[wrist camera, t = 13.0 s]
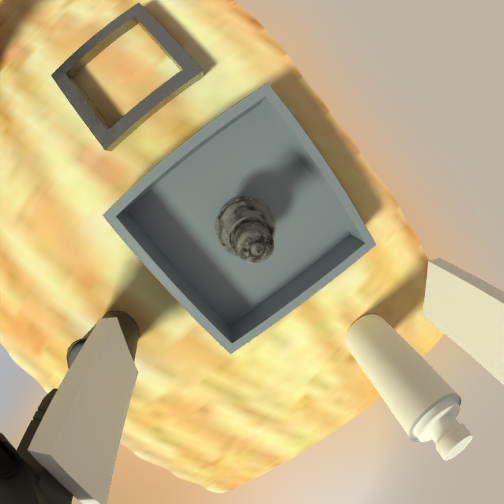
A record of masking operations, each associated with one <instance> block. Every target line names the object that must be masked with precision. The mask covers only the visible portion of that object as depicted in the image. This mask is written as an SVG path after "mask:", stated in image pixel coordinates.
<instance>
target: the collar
mask: <svg viewBox="0 0 504 504" xmlns="http://www.w3.org/2000/svg"><path fill="white" fill-rule="evenodd" d="M136 24H139V25H140V26H141V27H142V28H143V29H144V30H145V31H146V32H147V33H148V35H149V36H150V37H151V38H152V39H153V40H154V41H155V42H156V43H157V44H158V45H159V46H160V48H161V49H162V50H163V51H164V52H165V53H166V54H167V55H168V56H169V58H170V59H171V60H172V61H173V62H174V63H175V64H176V66H177V67H178V68H179V69H180V70H181V71H180V72H179V73H177V74H176V75H175V76H173V77H172V78H170V79H169V80H168V81H166V82H165V83H164V84H162V85H161V86H160V87H159V88H157V89H156V90H155V91H153V92H152V93H151V94H150V95H148V96H147V97H146V98H145V99H143V100H142V101H141V102H140V103H139V104H137V105H136V106H135V107H134V108H133V109H131V110H130V111H129V112H128V113H127V114H126V115H125V116H123V117H122V118H121V119H120V120H119V121H118V122H117V123H116V124H114V125H113V126H112V127H111V128H110V127H109V126H108V124H107V123H106V122H105V120H104V119H103V118H102V116H101V115H100V114H99V112H98V111H97V110H96V108H95V107H94V106H93V105H92V103H91V102H90V101H89V99H88V98H87V97H86V95H85V94H84V93H83V91H82V90H81V89H80V87H79V86H78V84H77V83H76V82H75V80H74V79H73V78H72V77H73V76H74V75H75V74H76V73H78V72H79V71H80V70H81V69H82V68H83V67H84V66H85V65H86V64H87V63H88V62H90V61H91V60H92V59H93V58H94V57H95V56H96V55H98V54H99V53H100V52H101V51H102V50H104V49H105V48H106V47H107V46H108V45H110V44H111V43H112V42H113V41H115V40H116V39H117V38H119V37H120V36H121V35H123V34H124V33H125V32H127V31H128V30H129V29H131V28H132V27H133V26H135V25H136ZM51 76H52V77H53V79H54V80H55V82H56V83H57V85H58V86H59V88H60V89H61V90H62V92H63V93H64V95H65V96H66V98H67V99H68V100H69V102H70V103H71V105H72V106H73V107H74V109H75V110H76V112H77V113H78V114H79V116H80V117H81V118H82V120H83V121H84V122H85V124H86V125H87V127H88V128H89V129H90V131H91V132H92V133H93V135H94V136H95V137H96V139H97V140H98V141H99V143H100V144H101V145H102V147H103V148H104V149H105V150H107V151H112V150H113V149H114V148H115V147H116V146H117V145H118V144H120V143H121V142H122V141H123V140H124V139H125V138H126V137H127V136H128V135H129V134H131V133H132V132H133V131H134V130H135V129H136V128H137V127H139V126H140V125H141V124H142V123H143V122H144V121H146V120H147V119H148V118H149V117H150V116H152V115H153V114H154V113H155V112H157V111H158V110H159V109H160V108H162V107H163V106H164V105H165V104H167V103H168V102H169V101H171V100H172V99H173V98H175V97H176V96H177V95H179V94H180V93H181V92H183V91H184V90H185V89H187V88H188V87H189V86H191V85H192V84H194V83H195V82H196V81H198V80H199V79H201V78H202V77H204V73H203V70H202V69H201V68H200V67H199V66H198V64H197V63H196V62H195V61H194V60H193V59H192V58H191V57H190V55H189V54H188V53H187V52H186V51H185V50H184V49H183V48H182V47H181V45H180V44H179V43H178V42H177V41H176V40H175V39H174V38H173V37H172V36H171V35H170V34H169V33H168V32H167V31H166V29H165V28H164V27H163V26H162V25H161V24H160V23H159V22H158V21H157V20H156V19H155V18H154V17H153V16H152V15H151V14H150V13H149V12H148V11H147V10H146V9H145V8H144V7H143V6H142V5H141V4H140V3H137V4H136V5H134V6H133V7H132V8H130V9H129V10H127V11H126V12H124V13H123V14H121V15H120V16H119V17H117V18H116V19H115V20H113V21H112V22H111V23H109V24H108V25H107V26H105V27H104V28H103V29H102V30H100V31H99V32H98V33H97V34H95V35H94V36H93V37H92V38H91V39H89V40H88V41H87V42H86V43H85V44H84V45H82V46H81V47H80V48H79V49H78V50H77V51H76V52H75V53H74V54H72V55H71V56H70V57H69V58H68V59H67V60H66V61H65V62H64V63H63V64H62V65H61V66H60V67H59V68H58V69H57V70H56V71H55V72H54V73H53V74H52V75H51Z"/></svg>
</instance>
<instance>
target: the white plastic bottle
mask: <svg viewBox="0 0 504 504" xmlns="http://www.w3.org/2000/svg"><path fill="white" fill-rule="evenodd" d="M346 346H347V348H348V349H349V351H350V352H351V354H352V355H353V356H354V358H355V359H356V361H357V362H358V364H359V365H360V366H361V368H362V369H363V371H364V372H365V374H366V375H367V376H368V378H369V379H370V381H371V382H372V384H373V385H374V386H375V388H376V389H377V391H378V392H379V394H380V395H381V397H382V398H383V400H384V401H385V402H386V404H387V405H388V407H389V408H390V410H391V411H392V413H393V414H394V415H395V417H396V418H397V420H398V421H399V423H400V424H401V425H402V427H403V428H404V430H405V431H406V433H407V434H408V436H409V437H410V439H411V438H412V439H411V440H412V441H413V442H419V441H421V442H426V441H429V440H431V439H433V441H434V442H435V443H436V449H437V451H438V452H439V453H440V455H441V456H442V458H443V459H444V460H449V459H451V458H453V457H454V456H456V455H457V454H459V453H460V452H461V451H462V450H463V449H464V448H465V447H466V446H467V445H468V444H469V443H470V441H471V440H472V437H473V435H472V434H471V433H470V431H469V430H468V429H467V428H466V427H465V425H463V424H459V422H457V420H456V417H457V415H458V413H459V410H460V404H461V398H460V397H458V396H459V395H458V394H457V393H456V392H455V391H454V390H453V389H452V388H451V387H450V386H449V385H448V384H447V383H446V382H445V381H444V379H443V378H442V377H441V376H440V375H439V374H438V373H437V372H436V371H435V370H434V369H433V368H432V367H431V366H430V365H429V364H428V363H427V362H426V361H425V360H424V359H423V358H422V357H421V356H420V355H419V354H418V353H417V352H416V351H415V350H414V349H413V348H412V347H411V346H410V345H409V344H408V343H407V342H406V341H405V340H404V339H403V338H402V337H401V336H400V335H399V334H398V333H397V332H396V331H395V330H394V329H393V328H392V327H391V326H390V325H389V324H388V323H387V322H386V321H385V320H384V319H383V318H382V317H381V316H379V315H376V314H369V315H365V316H363V317H361V318H359V319H358V320H356V321H355V322H354V323H353V324H352V325H351V327H350V328H349V330H348V332H347V335H346ZM458 400H459V401H458Z"/></svg>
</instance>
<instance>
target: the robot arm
mask: <svg viewBox="0 0 504 504" xmlns="http://www.w3.org/2000/svg"><path fill="white" fill-rule="evenodd" d="M422 316H424V317H425V318H426V319H427V320H429V321H430V322H431V323H432V324H434V325H435V326H436V327H437V328H438V329H440V330H441V331H442V332H443V333H444V334H446V335H447V336H448V337H449V338H450V339H452V340H453V341H454V342H455V343H457V344H458V345H459V346H460V347H461V348H462V349H464V350H465V351H466V352H467V353H468V354H469V355H471V356H472V357H473V358H474V359H475V360H476V361H477V362H479V363H480V364H481V365H482V366H483V367H484V368H485V369H486V370H488V371H489V372H490V373H491V374H492V375H493V376H494V377H496V378H497V379H498V380H499V381H500V382H501V383H502V384H503V385H504V292H503V291H501V290H499V289H497V288H496V287H494V286H492V285H490V284H488V283H487V282H485V281H483V280H481V279H479V278H477V277H475V276H473V275H472V274H469V273H468V272H466V271H464V270H462V269H460V268H458V267H456V266H454V265H452V264H450V263H448V262H446V261H444V260H442V259H435V260H431V261H428V270H427V280H426V290H425V298H424V305H423V312H422ZM137 375H138V371H137V369H136V366H135V364H134V361H133V359H132V356H131V354H130V351H129V349H128V346H127V344H126V341H125V338H124V336H123V333H122V330H121V327H120V325H119V322H118V319H117V317H112V318H103V319H100V320H99V321H98V323H97V324H96V326H95V327H94V329H93V331H92V332H91V334H90V335H89V337H88V339H87V340H86V342H85V343H84V345H83V347H82V348H81V350H80V352H79V353H78V355H77V357H76V358H75V360H74V362H73V363H72V365H71V367H70V369H69V370H68V372H67V374H66V376H65V377H64V379H63V381H62V383H61V384H60V386H59V388H58V389H53V390H52V391H51V392H49V393H48V394H47V395H46V396H45V397H44V399H43V400H42V402H41V404H40V406H39V407H38V411H37V412H36V413H35V415H34V417H33V420H32V421H31V423H30V424H29V426H28V428H27V430H26V432H25V434H24V436H23V438H22V440H21V442H20V444H19V447H18V449H17V450H16V449H15V448H14V447H13V446H12V445H11V444H10V442H9V441H8V440H7V439H6V437H5V436H4V435H3V434H2V433H0V504H72V503H71V502H72V498H73V496H74V497H76V498H77V499H78V500H79V501H80V502H81V503H83V504H107V500H108V494H109V488H110V484H111V479H112V474H113V469H114V464H115V460H116V456H117V451H118V447H119V443H120V439H121V434H122V430H123V426H124V422H125V418H126V415H127V411H128V407H129V403H130V400H131V396H132V392H133V389H134V385H135V382H136V378H137Z"/></svg>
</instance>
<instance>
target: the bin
mask: <svg viewBox="0 0 504 504" xmlns="http://www.w3.org/2000/svg"><path fill="white" fill-rule="evenodd" d="M243 196H245V197H251V198H256V199H258V200H260V201H262V202H264V203H265V204H266V205H267V206H268V207H269V208H270V209H271V211H272V212H273V214H274V217H275V220H276V232H275V236H274V239H273V240H274V250H273V253H272V255H271V256H270V257H269V258H268V259H267V260H266V261H264V262H262V263H259V264H251V263H248V262H245V261H244V260H242V259H241V258H240V256H235V255H233V254H231V253H229V252H228V251H226V250H225V249H224V248H223V247H222V246H221V244H220V243H219V241H218V239H217V236H216V230H215V224H216V219H217V216H218V214H219V212H220V210H221V208H222V207H223V206H224V205H225V203H226V202H228V201H229V200H231V199H233V198H236V197H243ZM103 216H104V218H105V219H106V220H107V221H108V223H109V224H110V225H111V226H112V228H113V229H114V230H115V231H116V232H117V234H118V235H119V236H120V237H121V238H122V240H123V241H124V242H125V243H126V244H127V245H128V247H129V248H130V249H131V250H132V251H133V253H134V254H135V255H136V256H137V257H138V258H139V259H140V261H141V262H142V263H143V264H144V265H145V266H146V267H147V268H148V270H149V271H150V272H151V273H152V274H153V275H154V276H155V277H156V278H157V280H158V281H159V282H160V283H161V284H162V285H163V286H164V287H165V288H166V289H167V290H168V292H169V293H170V294H171V295H172V296H173V297H174V298H175V299H176V300H177V301H178V302H179V303H180V304H181V305H182V306H183V307H184V308H185V309H186V310H187V311H188V313H189V314H190V315H191V316H192V317H193V318H194V319H195V320H196V321H197V322H198V323H199V324H200V325H201V326H202V327H203V328H204V329H205V330H206V331H207V332H208V333H209V334H210V335H211V336H212V337H213V338H214V339H216V340H217V341H218V342H219V343H220V344H221V345H222V346H223V347H224V348H225V349H226V350H227V351H228V352H229V353H230V354H231V353H233V352H234V351H236V350H237V349H239V348H240V347H242V346H243V345H245V344H246V343H248V342H249V341H251V340H252V339H253V338H255V337H256V336H258V335H259V334H261V333H262V332H263V331H265V330H266V329H268V328H269V327H270V326H272V325H273V324H275V323H276V322H277V321H279V320H280V319H282V318H283V317H284V316H286V315H287V314H288V313H290V312H291V311H293V310H294V309H295V308H297V307H298V306H299V305H301V304H302V303H303V302H305V301H306V300H307V299H309V298H310V297H311V296H313V295H314V294H315V293H317V292H318V291H319V290H320V289H322V288H323V287H324V286H326V285H327V284H328V283H329V282H331V281H332V280H333V279H335V278H336V277H337V276H338V275H340V274H341V273H342V272H343V271H345V270H346V269H347V268H348V267H350V266H351V265H352V264H353V263H355V262H356V261H357V260H358V259H359V258H361V257H362V256H363V255H364V254H365V253H367V252H368V251H369V250H370V249H371V248H373V247H374V246H375V245H376V243H375V242H374V240H373V238H372V236H371V234H370V233H369V231H368V229H367V227H366V226H365V224H364V222H363V220H362V219H361V217H360V215H359V214H358V212H357V210H356V209H355V207H354V205H353V204H352V202H351V200H350V199H349V197H348V195H347V194H346V192H345V191H344V189H343V187H342V186H341V184H340V183H339V181H338V180H337V178H336V176H335V175H334V173H333V172H332V170H331V169H330V167H329V166H328V164H327V163H326V161H325V160H324V158H323V157H322V155H321V154H320V152H319V151H318V149H317V148H316V147H315V145H314V144H313V142H312V141H311V139H310V138H309V137H308V135H307V134H306V132H305V131H304V130H303V128H302V127H301V126H300V124H299V123H298V122H297V120H296V119H295V117H294V116H293V115H292V113H291V112H290V111H289V110H288V108H287V107H286V106H285V104H284V103H283V102H282V100H281V99H280V98H279V97H278V95H277V94H276V93H275V92H274V90H273V89H272V88H271V87H270V85H269V84H268V83H267V84H266V85H264V86H262V87H261V88H259V89H258V90H256V91H255V92H253V93H252V94H250V95H249V96H247V97H246V98H244V99H243V100H241V101H240V102H238V103H237V104H235V105H234V106H232V107H231V108H230V109H228V110H227V111H225V112H224V113H222V114H221V115H220V116H218V117H217V118H216V119H214V120H213V121H211V122H210V123H209V124H207V125H206V126H205V127H203V128H202V129H201V130H199V131H198V132H197V133H196V134H194V135H193V136H192V137H190V138H189V139H188V140H187V141H185V142H184V143H183V144H182V145H180V146H179V147H178V148H177V149H175V150H174V151H173V152H172V153H170V154H169V155H168V156H167V157H166V158H164V159H163V160H162V161H161V162H160V163H159V164H157V165H156V166H155V167H154V168H153V169H152V170H150V171H149V172H148V173H147V174H146V175H145V176H144V177H142V178H141V179H140V180H139V181H138V182H137V183H136V184H135V185H134V186H133V187H131V188H130V189H129V190H128V191H127V192H126V193H125V194H124V195H123V196H122V197H121V198H120V199H119V200H118V201H117V202H116V203H115V204H113V205H112V206H111V207H110V208H109V209H108V210H107V211H106V212H105V213H104V214H103Z"/></svg>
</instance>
